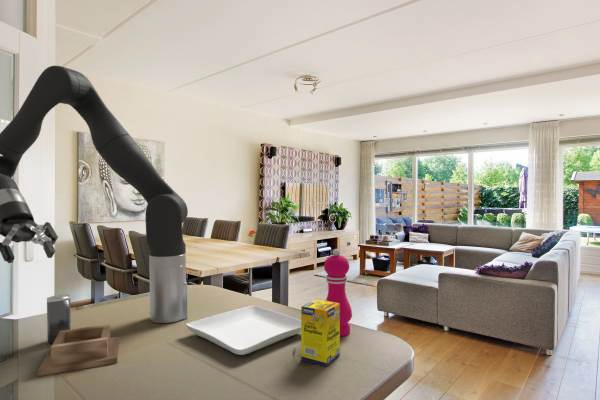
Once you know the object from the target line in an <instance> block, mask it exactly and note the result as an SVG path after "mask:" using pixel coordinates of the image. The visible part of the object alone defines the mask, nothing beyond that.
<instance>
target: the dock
mask: <svg viewBox="0 0 600 400" xmlns="http://www.w3.org/2000/svg"><path fill="white" fill-rule="evenodd" d="M50 346H51V347H50V348H49V350H48V352H47V354H46V356H45V357H44V359H43V360H42V363H41V364H40V366H39V368H38V370H37V376H38V377H43V376H47V375H54V374H55V375H56V374H60V373H64V372H72V371H77V370H83V369H87V368H88V369H89V368H94V367H101V366H105V365H106V366H107V365H113V364H118V358H119V350H120V349H119V348H120V347H119V346H120V336H115V337H111V324H110V323H109V324H103V325H94V326H87V327H79V328H73V329H72V328H71V330H63V331H60V332H59V334H58V335H57V337H56V339H55V341H54V343H53V344H52V345H50Z"/></svg>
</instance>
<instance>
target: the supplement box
mask: <svg viewBox="0 0 600 400" xmlns="http://www.w3.org/2000/svg"><path fill="white" fill-rule="evenodd" d="M300 309H301V311H300V312H301V315H300V316H301V318H300V320H301V332H300V334H301V337H300V338H301V341H300V343H301V345H300V346H301V353H300V354H301V357H300V358H301V361H304V362H308V363H312V364H315V365H319V366H323V367H328V366H329V365H330V364H331V363H332V362H333V361H335V359H338V358H339V357H340V356H341V354H340V352H341V351H340V350H341V348H340V345H341V344H340V342H341V341H340V338H341V337H340V303H335V302H329V301H326V300H323V299H318V298H317V299H314V300H312V301H311V302H308V303H306V304H303V305H301V308H300Z"/></svg>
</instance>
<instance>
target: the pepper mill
mask: <svg viewBox="0 0 600 400" xmlns="http://www.w3.org/2000/svg"><path fill="white" fill-rule="evenodd" d="M332 254H333V255H331V256H328V257H327V258H326V259H325V260H324V264H323V267H324V268H323V269H324V271H325V273H326V274H327V275H325V276H326V280H325V282H326V283H327V287H328V288H327V289H328V290H327V296H326V299H325V301H329V302H335V303H340V338H341V337H346V336H348V335H350V334H351V325H350V323H349V322H350V321H351V319H352V318H353V313H352V311H353V310H352V306H351V305H350V302H349V300H348V298H347V294H346V283H347V282H348V280H347V278H348V276H347V273H348V272H349V270H350V262H349V260H348V259H347V258H346V257H345V256H343V255H340V254H341V251H340V249H339V248H334V249H333V250H332Z"/></svg>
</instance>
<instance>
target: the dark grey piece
mask: <svg viewBox="0 0 600 400" xmlns="http://www.w3.org/2000/svg"><path fill="white" fill-rule="evenodd" d="M71 309H72V308H71V294H57V295H52V296H49V297H47V298H46V322H47V323H46V329H47V333H46V334H47V335H46V337H47V341H46V342H47V345H50V346H52V344H53V343H54V341H55V339H56V337H57V335H58V334H59V332H60V331H63V330H71V329H72V319H71V318H72V317H71V315H72V314H71V313H72V312H71Z"/></svg>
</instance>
